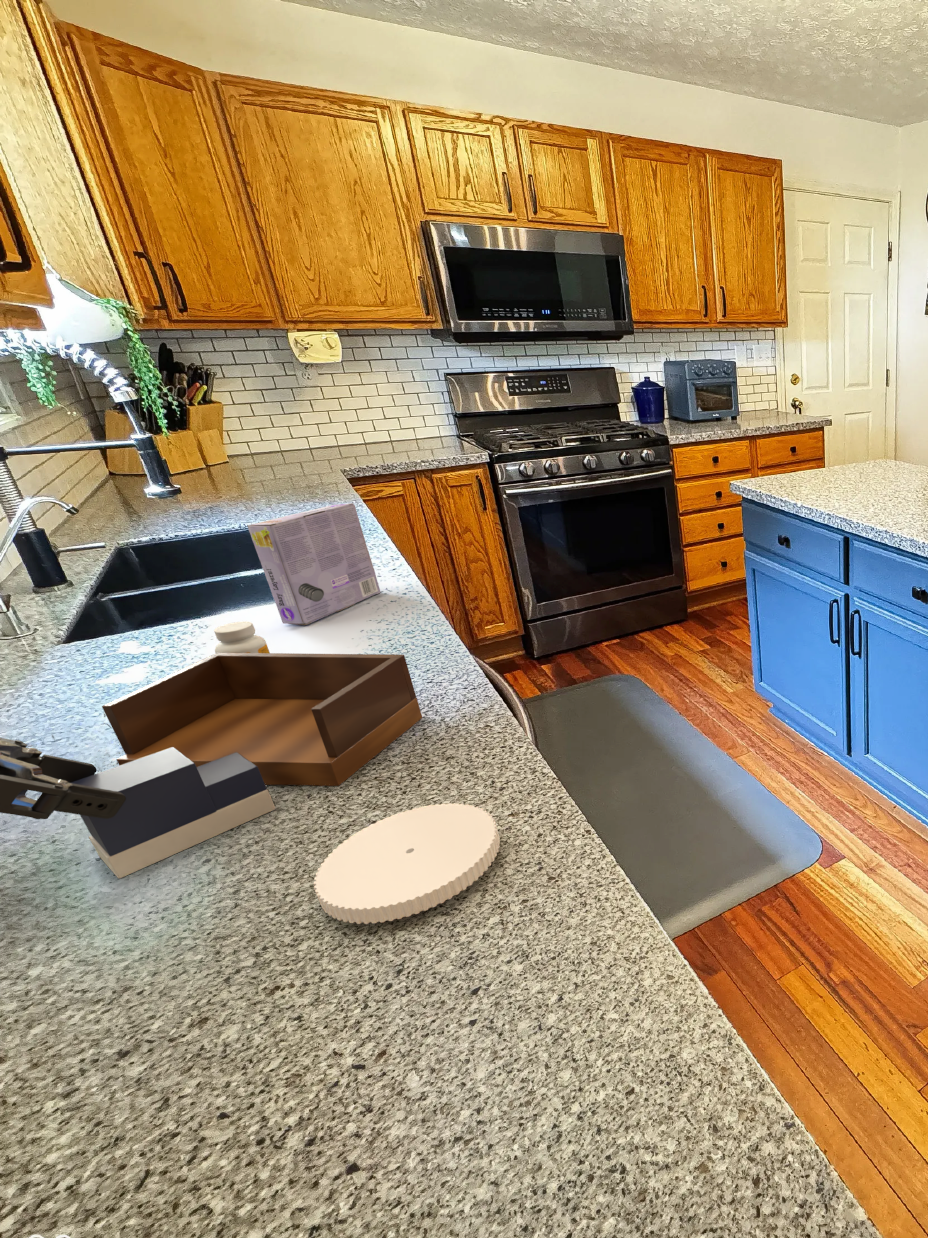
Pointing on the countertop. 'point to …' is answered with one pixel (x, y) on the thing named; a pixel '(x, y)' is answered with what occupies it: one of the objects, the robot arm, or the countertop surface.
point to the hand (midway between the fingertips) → (104, 791)
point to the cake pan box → (315, 562)
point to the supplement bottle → (239, 639)
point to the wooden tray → (273, 713)
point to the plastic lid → (407, 863)
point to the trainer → (172, 806)
